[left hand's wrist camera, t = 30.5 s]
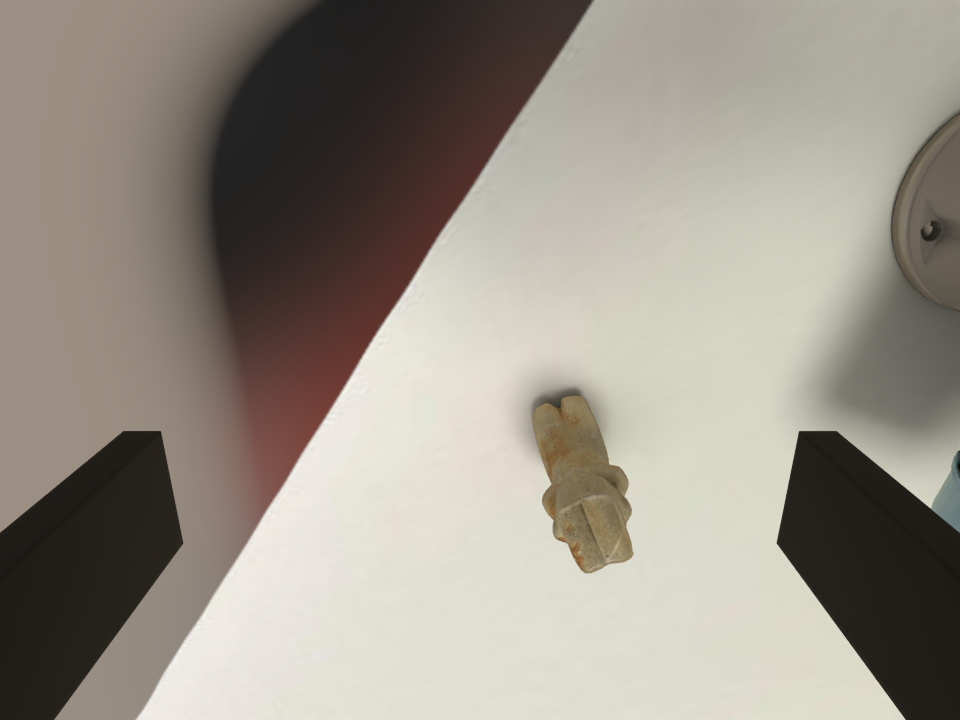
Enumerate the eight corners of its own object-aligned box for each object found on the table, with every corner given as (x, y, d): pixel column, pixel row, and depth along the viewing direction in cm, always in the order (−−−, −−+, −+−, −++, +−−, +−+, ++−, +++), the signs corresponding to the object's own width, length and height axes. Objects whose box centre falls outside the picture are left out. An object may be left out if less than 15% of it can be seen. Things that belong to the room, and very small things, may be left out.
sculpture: (592, 382, 47) (639, 486, 33) (613, 460, 50) (665, 588, 36) (520, 403, 48) (536, 513, 34) (543, 479, 50) (568, 611, 36)
